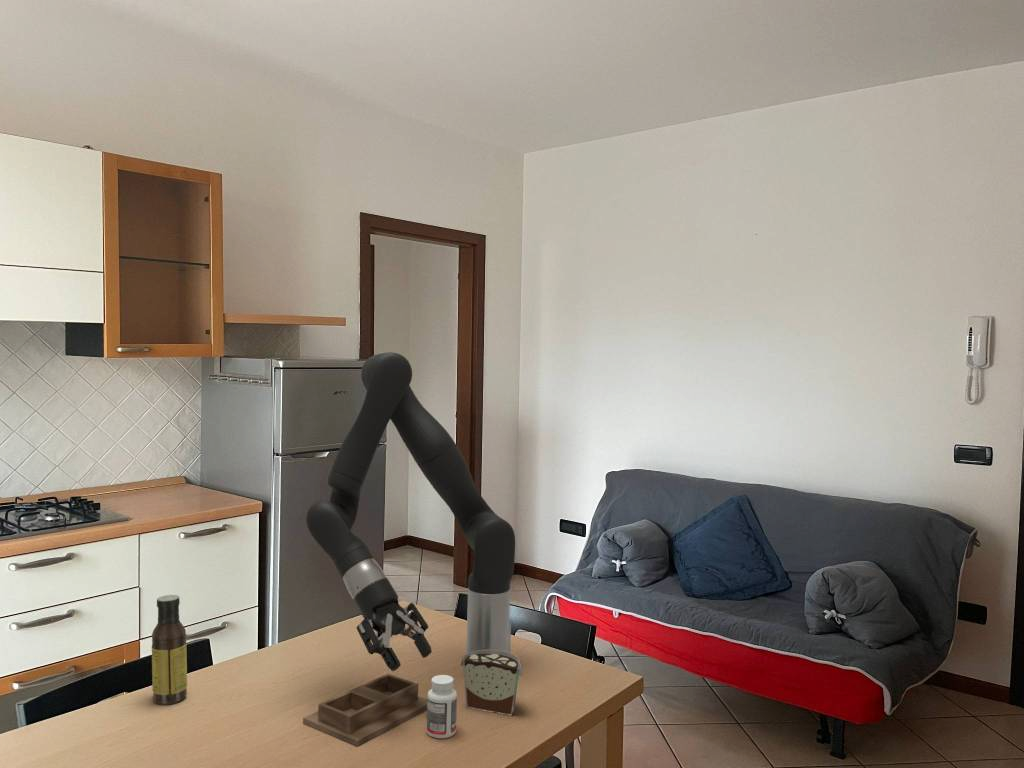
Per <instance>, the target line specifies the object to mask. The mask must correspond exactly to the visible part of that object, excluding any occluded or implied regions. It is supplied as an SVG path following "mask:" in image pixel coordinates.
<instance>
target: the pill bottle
mask: <svg viewBox="0 0 1024 768" xmlns="http://www.w3.org/2000/svg"><path fill="white" fill-rule="evenodd" d="M454 685H455V684H454V677H452V676H451V675H447V674H437V675H434V676H433V677H432V678H431V682H430V687H431V688H430V689H429V690H428V692H427V695H426V699H427V710H426V734H427V735H428V736H430V737H432V738H435V739H447V738H450V737H452V736H454V735H455V734H456V732H457V719H458V718H457V713H458V712H457V709H458V693H457V690H455V688H454Z"/></svg>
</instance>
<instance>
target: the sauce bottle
mask: <svg viewBox="0 0 1024 768" xmlns="http://www.w3.org/2000/svg"><path fill="white" fill-rule="evenodd" d="M180 604H181V602H180V596H179V595H177V594H167V595H163V596H159V597H157V599H156V607H157V624H156V626H155V628H154V629H153V630H152V633H151V642H152V643H151V667H152V668H151V674H152V675H151V677H152V681H151V682H152V683H151V684H152V687H151V688H152V693H153V696H152V699H153V702H155V703H156V704H157V705H161V706H162V705H174V704H177V703H178V702H180V701H183V700H184V699H185V698H186V697H187V695H188V691H187V690H188V689H187V687H188V665H187V664H188V663H187V662H188V661H187V658H188V655H187V651H188V650H187V639H186V638H187V637H186V636H187V635H186V634H187V632H186V627H185V626H184V625H183V624H182V622H181V621H180V612H179V611H180V609H179V608H180Z"/></svg>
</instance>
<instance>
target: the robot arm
mask: <svg viewBox="0 0 1024 768" xmlns="http://www.w3.org/2000/svg"><path fill="white" fill-rule="evenodd" d="M360 376H361V381H362V383H363V386H364V388H365V390H366V394H365V398H364V400H363V404H362V406H361V409H360V411H359V413H358V415H357V418H356V419H355V421H354V423H353V424H352V426H351V428H350V430H349V431H348V432H347V435H346V436H345V437H344V439H343V441H342V443H341V445H340V448H339V450H338V451H337V454H336V457H335V459H334V461H333V464H332V466H331V470H330V472H329V475H328V476H327V477H328V478H327V484H328V487H330V488H331V494H330V499H329V500H319V501H315V503H313V504H312V505H310V506H309V508H308V510H307V512H306V517H305V520H306V526H307V529H308V531H309V533H310V534H311V536H312V537H313V539H314V540H315V542H316V543H317V544H318V545H319V546H320V547H321V549H322V550H323V552H325V553H326V554H327V555H328V556H329V557H330V559H331V560H332V562H333V564H334V566H335V568H336V570H337V571H338V573H339V575H340V576H341V578H342V580H343V582H344V585H345V587H346V589H347V592H348V593H349V595H350V597H351V598H352V600H353V602H354V604H355V606H356V607H357V609H358V611H359V613H360V615H361V616H362V617H363V620H362V621H361V622H360V623H358V625H357V626H356V630H357V632H358V634H359V636H360V638H361V641H362V642H363V644H364V646H365V648H366V650H367V652H368V654H369V655H373V654H378V655H380V656H381V658H382V660H383V661H384V663H385V664H386V667H387V668H388V669H389V670H390V671H391V672H394V671H397V670H398V669H399V668H400V667H401V661H400V660H399V658H398V656H397V654H396V653H395V651H394V649H393V647H390V641H391V640H390V638H392V637H393V636H398V635H401V636H403V637H407V638H410V639H412V640H413V643H414V646H416V649H417V650H418V652H419V653H420V656H421V657H422V658H423V659H425V658H427V657H428V656H430V655H431V653H433V652H432V647H431V645H430V643H429V642H428V640H427V638H426V637H425V632H426V631H427V630H428V629H429V625H428V623H427V622H426V620H425V619H424V617H423V616H422V614H421V613H420V611H419V610H418V608H417V606H416V605H415V604H414V603H413V602H410V603H409V604H408V605H407V606H405V607H402V605H400V604H399V595H398V594H397V592H396V590H395V588H394V586H393V585H392V584H391V582H390V581H389V578H388V576H387V575H386V574H385V572H384V570H383V569H382V567H381V566H380V565H379V563H378V562H377V560H376V559H375V557H374V556H373V555H372V553H371V551H370V550H369V548H368V546H367V544H366V543H365V542H364V541H363V539H361V538H360V537H359V536H357V535H355V534H354V533H353V532H352V531H351V530H352V528H353V527H354V525H355V523H356V522H355V521H356V519H357V515H358V510H359V504H360V498H361V489H362V487H363V485H364V482H365V480H366V478H367V475H368V473H369V470H370V467H371V465H372V461H373V460H374V459H373V458H374V456H375V455H376V451H377V449H378V446H379V445H380V441H381V440H382V438H383V434H384V433H385V430H386V428H387V426H388V425H389V422H390V421H391V422H392V424H393V425H394V427H395V429H396V430H397V432H398V434H399V436H400V437H401V439H402V441H403V443H404V445H405V447H406V448H407V450H408V452H409V453H410V455H411V456H412V458H413V460H414V462H415V463H416V465H417V466H418V468H419V469H420V471H421V472H422V474H423V475H424V477H425V478H426V480H427V481H428V482H429V483H430V485H431V486H432V488H433V490H434V491H436V493H437V494H438V496H440V498H441V499H442V500H443V501H444V503H445V504H446V505H447V506H448V508H449V509H450V511H451V513H452V514H453V516H454V518H455V519H456V522H457V524H458V525H459V527H460V530H461V531H462V534H463V536H464V539H465V540H466V542H467V544H468V546H469V547H470V548H471V549H472V550H473V564H472V565H473V567H472V572H471V573H470V574H469V576H468V581H467V615H466V619H467V620H466V647H465V649H466V650H465V651H466V652H465V655H466V654H467V653H470V652H473V651H478V650H499V651H505V652H508V653H511V638H512V637H511V635H512V634H511V633H512V632H511V631H512V621H511V620H510V608H511V607H510V605H511V601H510V600H511V581H512V579H513V577H514V572H515V557H516V535H515V531H514V528H513V527H512V525H511V523H509V522H508V521H506V520H505V519H503V518H502V517H500V516H499V515H497V513H495V511H494V510H493V509H492V508H491V507H490V505H489V504H488V503H487V501H485V499H484V498H483V496H482V494H481V493H479V490H478V488H477V486H476V483H475V482H474V478H473V476H472V474H471V470H470V468H469V465H468V463H467V460H466V458H465V457H464V455H463V453H462V452H461V450H460V448H459V447H458V445H457V444H456V442H455V441H454V439H453V437H452V436H451V435H450V433H449V432H448V431H447V430H446V429H445V427H444V426H443V425H442V424H441V423H440V422H439V421H438V420H437V419H436V418H435V417H434V416H433V415H432V414H431V413H430V412H429V411H428V410H427V409H426V408H425V407H424V405H422V404H421V402H420V401H419V399H418V397H417V396H416V394H415V393H414V391H413V389H412V387H411V386H410V385H411V382H412V378H413V369H412V365H411V363H410V361H409V360H408V358H406V357H405V356H404V355H402V354H400V353H397V352H393V351H392V352H391V351H390V352H382V353H377V354H374V355H372V356H370V357H368V358H367V359H366V360H365V361H364V363H363V365H362V367H361V373H360Z"/></svg>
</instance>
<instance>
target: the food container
mask: <svg viewBox="0 0 1024 768" xmlns="http://www.w3.org/2000/svg"><path fill="white" fill-rule="evenodd" d="M462 666H463V679H464V691H465V706H466V707H467V708H466V709H470V708H474V709H473V710H476V709H480V710H479V711H481V710H486V711H485V712H487V711H492V712H498V713H499V712H500V713H503V714H511V715H512V714H513V715H514V713H513V712H514V711H515V705H516V699H517V698H516V696H517V689H518V680H519V677H521V676H522V675H523V670H522V669H523V668H522V664H521V661H520V659H519V657H518V656H517V655H515V654H514V653H512V652H510V653H508V652H505V651H499V650H478V651H473V652H470V653H467V654H466V653H465V654H463V656H462V658H461V663H460V667H462ZM492 712H491V713H492ZM503 714H502V715H503ZM513 715H512V716H513Z"/></svg>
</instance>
